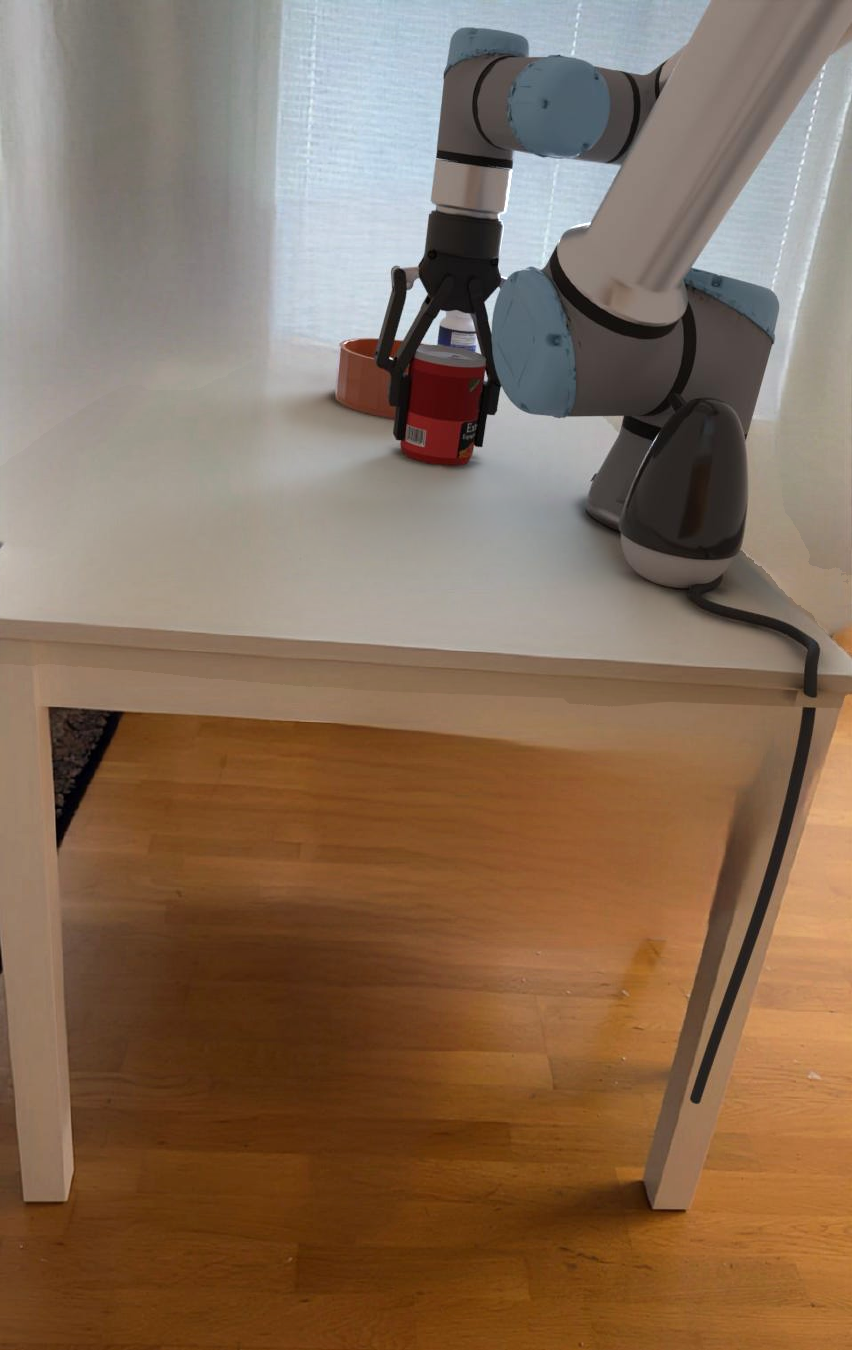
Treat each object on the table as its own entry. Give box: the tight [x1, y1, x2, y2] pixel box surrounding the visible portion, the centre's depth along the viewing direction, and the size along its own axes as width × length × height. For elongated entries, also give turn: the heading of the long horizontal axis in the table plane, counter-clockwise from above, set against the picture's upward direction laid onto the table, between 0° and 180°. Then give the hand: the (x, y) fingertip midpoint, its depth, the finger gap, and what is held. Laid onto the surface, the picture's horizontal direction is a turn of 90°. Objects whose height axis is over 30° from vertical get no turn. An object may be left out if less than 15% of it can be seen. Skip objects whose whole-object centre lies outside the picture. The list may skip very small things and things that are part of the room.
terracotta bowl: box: [334, 337, 429, 420], centre depth 134 cm, size 16×16×6 cm
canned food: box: [399, 344, 486, 466], centre depth 113 cm, size 8×8×11 cm
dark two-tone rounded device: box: [618, 393, 749, 589], centre depth 87 cm, size 10×10×15 cm
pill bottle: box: [436, 310, 478, 352], centre depth 155 cm, size 6×6×10 cm
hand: (437, 440), depth 115 cm, fingers closed on canned food, 8 cm apart
